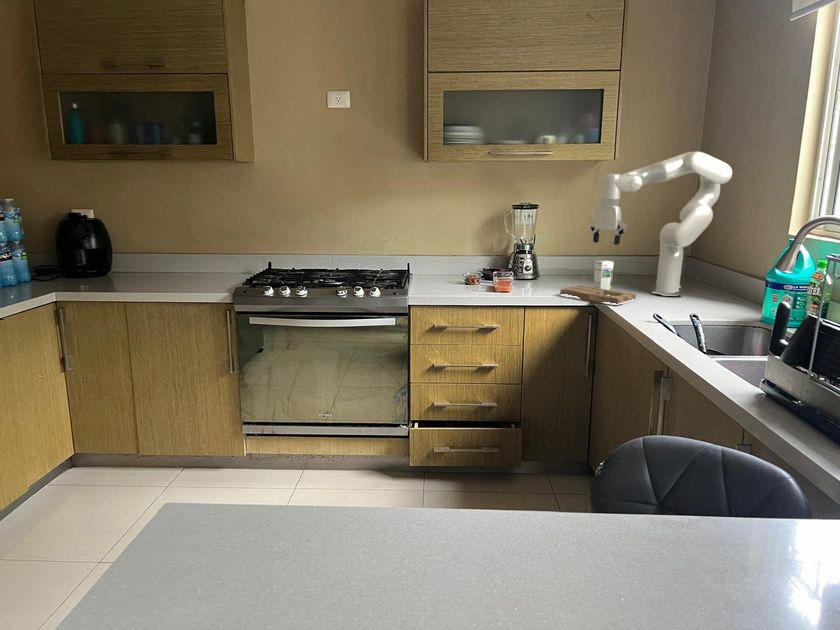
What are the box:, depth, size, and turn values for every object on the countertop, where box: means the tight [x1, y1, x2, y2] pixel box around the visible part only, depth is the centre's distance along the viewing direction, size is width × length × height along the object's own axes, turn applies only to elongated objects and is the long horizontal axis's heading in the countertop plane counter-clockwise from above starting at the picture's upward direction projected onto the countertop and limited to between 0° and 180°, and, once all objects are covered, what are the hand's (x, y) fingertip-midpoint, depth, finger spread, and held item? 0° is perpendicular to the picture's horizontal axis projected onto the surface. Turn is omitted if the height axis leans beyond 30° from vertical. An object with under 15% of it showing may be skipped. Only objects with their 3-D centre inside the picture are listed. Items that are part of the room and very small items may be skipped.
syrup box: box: [592, 260, 615, 290], centre depth 269 cm, size 6×6×14 cm
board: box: [559, 284, 637, 305], centre depth 258 cm, size 16×26×3 cm, turn 45°
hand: (606, 243), depth 266 cm, fingers open, 9 cm apart
